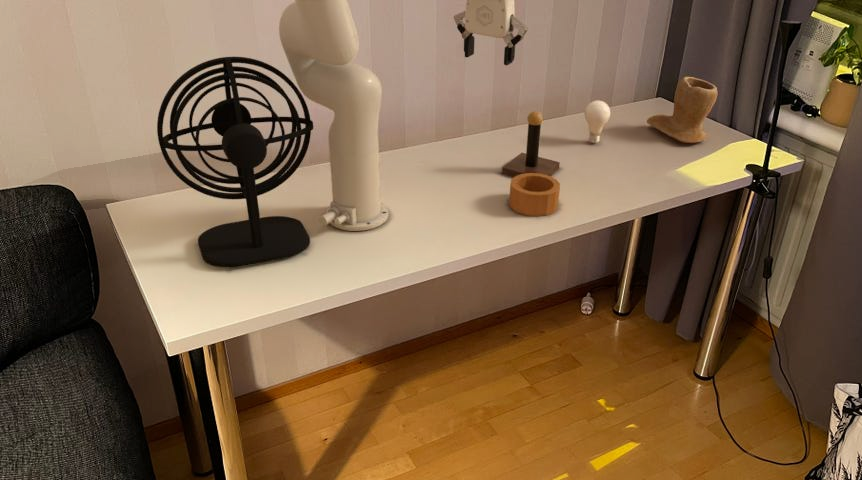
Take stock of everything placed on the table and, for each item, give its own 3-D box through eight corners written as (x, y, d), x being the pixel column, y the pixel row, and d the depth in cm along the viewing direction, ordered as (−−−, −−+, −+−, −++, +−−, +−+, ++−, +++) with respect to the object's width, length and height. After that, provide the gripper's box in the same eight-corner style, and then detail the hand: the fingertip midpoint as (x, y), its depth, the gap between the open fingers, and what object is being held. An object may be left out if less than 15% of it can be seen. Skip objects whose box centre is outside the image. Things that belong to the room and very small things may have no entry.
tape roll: (545, 220, 162) (547, 199, 160) (500, 207, 166) (502, 186, 164) (565, 201, 170) (567, 180, 167) (522, 189, 174) (524, 169, 172)
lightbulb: (579, 145, 196) (583, 103, 190) (583, 136, 202) (588, 95, 196) (604, 149, 195) (609, 107, 189) (608, 140, 200) (613, 98, 194)
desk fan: (313, 210, 162) (298, 41, 143) (336, 251, 149) (324, 70, 130) (175, 233, 152) (140, 54, 133) (187, 279, 139) (151, 88, 120)
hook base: (541, 184, 177) (541, 177, 176) (501, 173, 181) (502, 167, 180) (559, 168, 184) (559, 162, 184) (521, 158, 188) (521, 152, 187)
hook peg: (534, 168, 180) (539, 115, 173) (521, 165, 181) (525, 112, 174) (541, 163, 182) (545, 110, 175) (528, 160, 184) (532, 107, 177)
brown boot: (717, 142, 202) (729, 85, 194) (682, 149, 197) (693, 91, 189) (678, 121, 213) (688, 67, 205) (644, 128, 208) (653, 72, 200)
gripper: (447, -24, 164) (445, 57, 173) (521, -13, 157) (516, 71, 166) (464, -30, 169) (462, 48, 178) (537, -19, 163) (531, 62, 172)
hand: (488, 59), depth 172 cm, fingers open, 9 cm apart
